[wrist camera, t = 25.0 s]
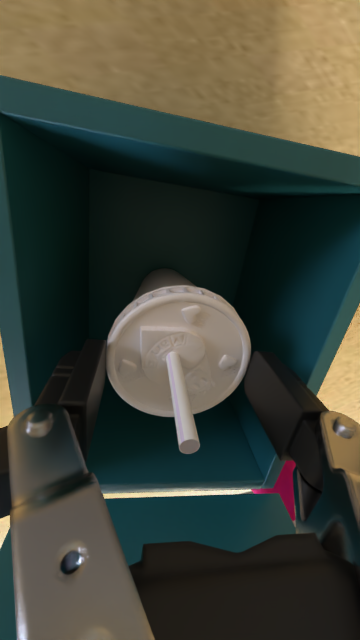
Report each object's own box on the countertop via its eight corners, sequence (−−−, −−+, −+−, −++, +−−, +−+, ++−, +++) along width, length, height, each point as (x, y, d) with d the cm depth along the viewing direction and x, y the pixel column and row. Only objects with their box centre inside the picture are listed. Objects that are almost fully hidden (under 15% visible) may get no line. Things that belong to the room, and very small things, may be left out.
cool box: (79, 154, 17) (-44, 63, 6) (267, 189, 19) (423, 170, 8) (81, 362, 23) (26, 496, 13) (221, 370, 25) (273, 489, 15)
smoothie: (167, 230, 17) (229, 297, 5) (220, 294, 20) (350, 446, 7) (103, 289, 19) (20, 468, 6) (161, 342, 21) (187, 545, 9)
